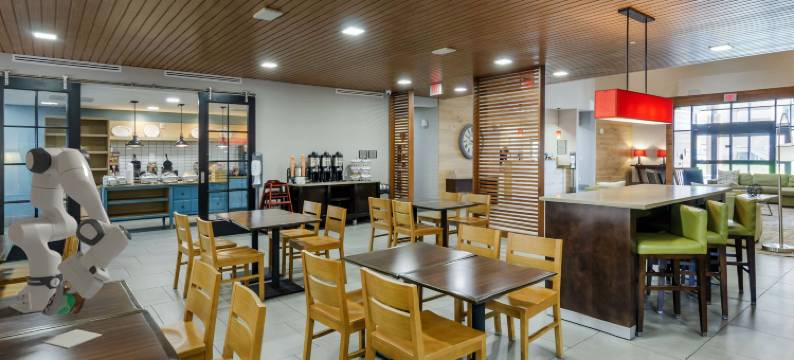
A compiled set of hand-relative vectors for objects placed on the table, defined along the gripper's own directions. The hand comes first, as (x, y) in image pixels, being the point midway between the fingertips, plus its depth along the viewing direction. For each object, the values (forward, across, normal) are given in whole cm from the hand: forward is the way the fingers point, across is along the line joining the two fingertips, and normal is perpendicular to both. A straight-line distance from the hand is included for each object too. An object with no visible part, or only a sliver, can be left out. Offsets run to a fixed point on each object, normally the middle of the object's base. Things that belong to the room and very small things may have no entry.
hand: (61, 293), depth 166 cm
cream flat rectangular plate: (+9, +12, +7) cm, 17 cm away
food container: (0, +4, +7) cm, 8 cm away
